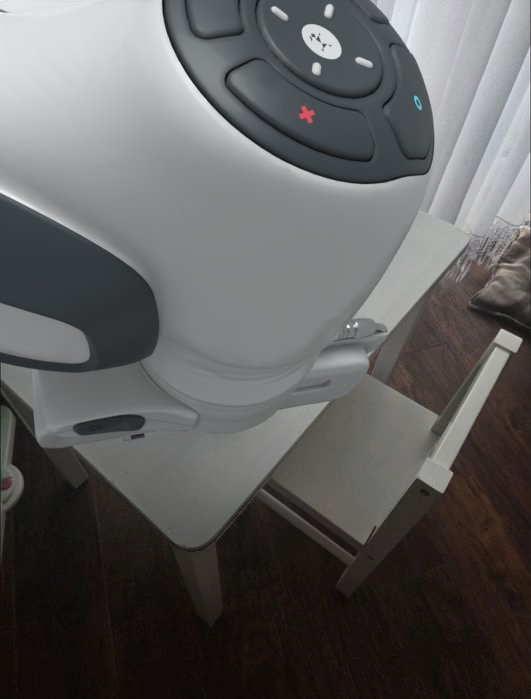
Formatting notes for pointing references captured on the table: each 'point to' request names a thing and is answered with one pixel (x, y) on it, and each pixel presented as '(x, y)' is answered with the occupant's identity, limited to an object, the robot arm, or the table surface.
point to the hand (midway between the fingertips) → (196, 418)
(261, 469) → the table surface
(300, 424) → the table surface
